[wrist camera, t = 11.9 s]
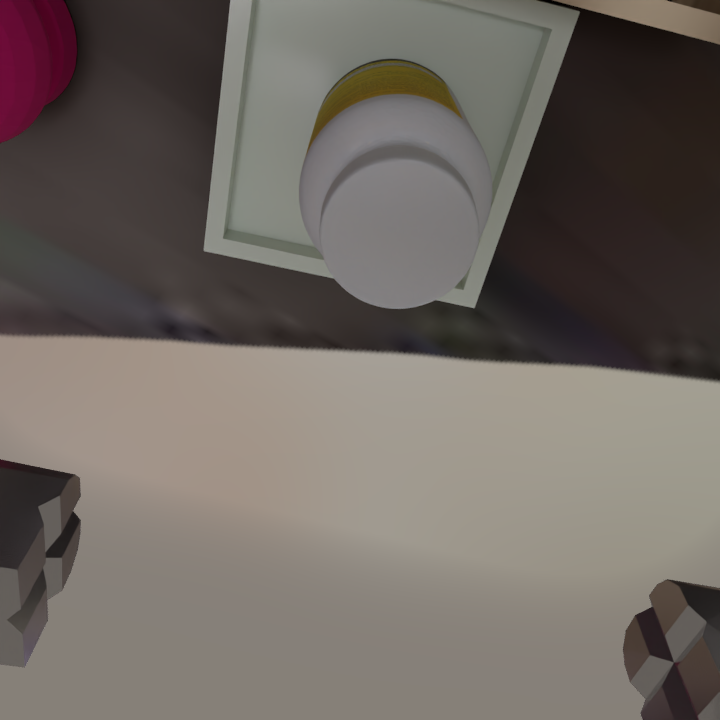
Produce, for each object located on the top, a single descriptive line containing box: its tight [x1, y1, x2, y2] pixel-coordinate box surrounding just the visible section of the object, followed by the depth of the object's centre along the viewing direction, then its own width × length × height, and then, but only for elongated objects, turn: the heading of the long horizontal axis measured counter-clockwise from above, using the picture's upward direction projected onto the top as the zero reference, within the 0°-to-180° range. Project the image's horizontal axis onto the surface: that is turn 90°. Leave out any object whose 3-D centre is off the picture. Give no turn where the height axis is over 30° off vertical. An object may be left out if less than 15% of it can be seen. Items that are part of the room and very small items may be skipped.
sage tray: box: [204, 0, 580, 308], centre depth 29 cm, size 13×13×2 cm
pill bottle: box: [299, 58, 492, 309], centre depth 24 cm, size 6×6×12 cm
